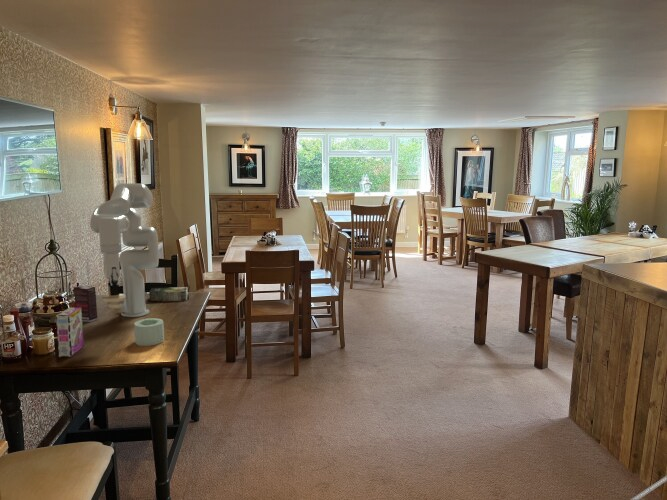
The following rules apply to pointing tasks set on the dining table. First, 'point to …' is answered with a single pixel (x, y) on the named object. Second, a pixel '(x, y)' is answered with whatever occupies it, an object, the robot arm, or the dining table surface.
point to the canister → (149, 331)
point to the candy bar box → (69, 332)
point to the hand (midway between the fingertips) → (113, 293)
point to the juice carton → (169, 294)
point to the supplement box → (86, 302)
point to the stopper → (114, 300)
